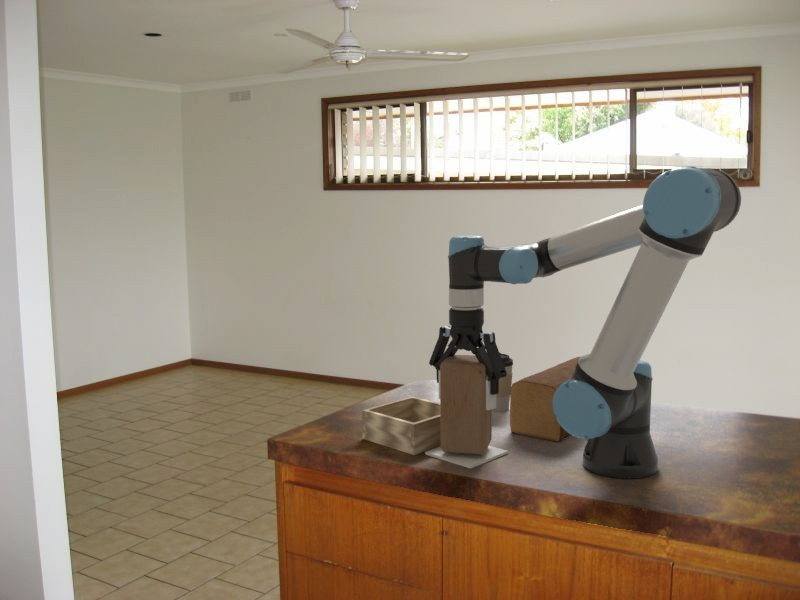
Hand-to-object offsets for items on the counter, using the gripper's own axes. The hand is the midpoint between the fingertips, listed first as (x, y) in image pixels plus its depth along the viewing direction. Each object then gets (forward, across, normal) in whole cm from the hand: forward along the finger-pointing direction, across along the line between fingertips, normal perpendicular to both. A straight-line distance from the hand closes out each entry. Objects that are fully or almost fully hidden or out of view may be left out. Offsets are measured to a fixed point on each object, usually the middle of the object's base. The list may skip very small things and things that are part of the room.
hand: (466, 403), depth 167 cm
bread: (+12, -2, -36) cm, 38 cm away
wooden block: (+10, 0, 0) cm, 10 cm away
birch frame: (+12, +17, 0) cm, 20 cm away
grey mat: (+12, 0, 0) cm, 12 cm away
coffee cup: (+12, +18, -33) cm, 39 cm away
